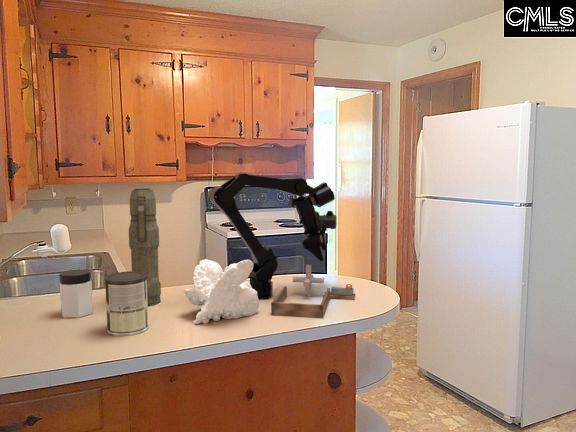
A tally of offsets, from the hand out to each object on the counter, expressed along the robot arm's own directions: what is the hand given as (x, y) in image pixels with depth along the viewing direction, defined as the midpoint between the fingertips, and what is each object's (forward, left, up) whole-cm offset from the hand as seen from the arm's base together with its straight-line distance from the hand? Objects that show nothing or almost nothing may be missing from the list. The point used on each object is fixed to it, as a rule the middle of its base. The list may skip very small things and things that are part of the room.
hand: (323, 255), depth 159 cm
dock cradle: (0, -18, -12) cm, 22 cm away
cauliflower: (-25, -33, -12) cm, 43 cm away
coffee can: (-45, -48, -12) cm, 67 cm away
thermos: (-52, -25, -12) cm, 59 cm away
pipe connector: (-4, -8, -12) cm, 15 cm away
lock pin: (+7, -9, -12) cm, 16 cm away
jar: (-66, -39, -12) cm, 78 cm away
